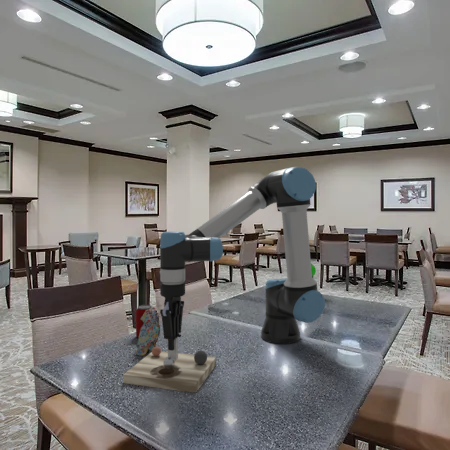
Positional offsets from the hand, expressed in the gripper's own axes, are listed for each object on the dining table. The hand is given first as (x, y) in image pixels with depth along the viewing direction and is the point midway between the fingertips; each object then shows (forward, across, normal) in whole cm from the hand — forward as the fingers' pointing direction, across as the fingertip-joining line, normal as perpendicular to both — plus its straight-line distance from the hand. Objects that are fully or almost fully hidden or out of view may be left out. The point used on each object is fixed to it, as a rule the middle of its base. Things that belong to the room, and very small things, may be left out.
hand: (172, 359), depth 109 cm
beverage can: (+4, -27, -24) cm, 36 cm away
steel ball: (0, +3, 0) cm, 3 cm away
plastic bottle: (+4, -110, +34) cm, 116 cm away
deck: (+4, +1, 0) cm, 4 cm away
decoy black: (0, -2, +8) cm, 9 cm away
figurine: (+4, -14, -16) cm, 22 cm away
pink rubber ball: (0, -5, -8) cm, 9 cm away
